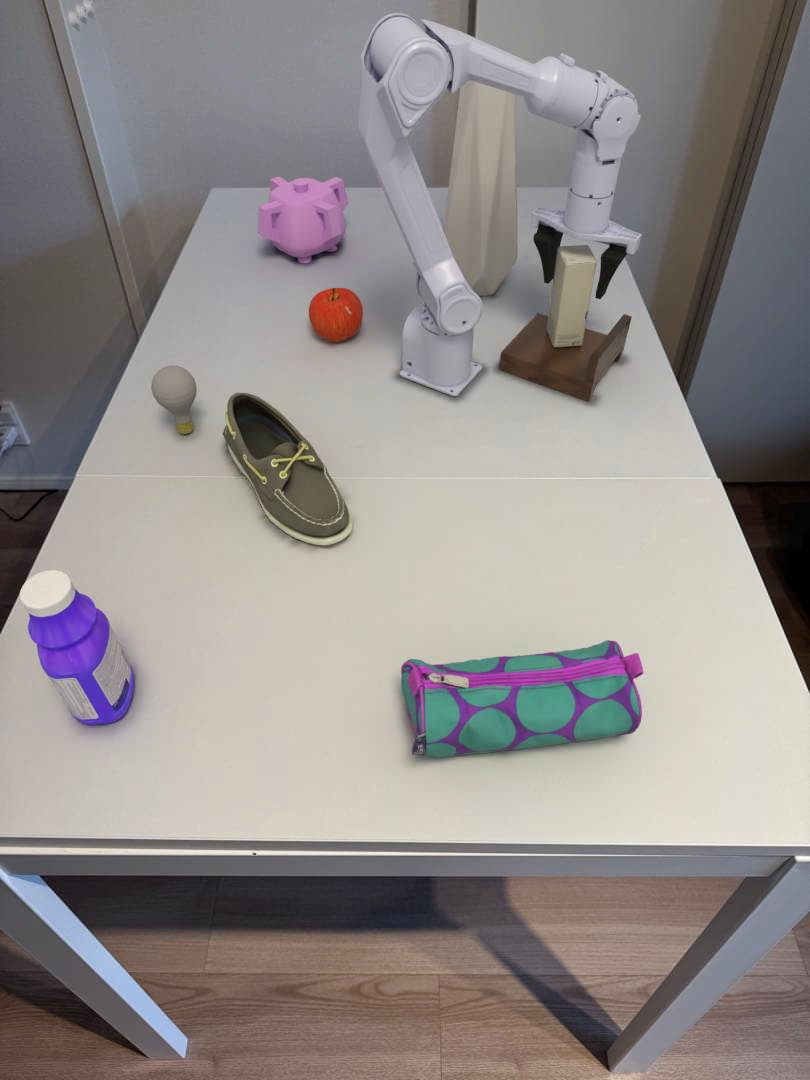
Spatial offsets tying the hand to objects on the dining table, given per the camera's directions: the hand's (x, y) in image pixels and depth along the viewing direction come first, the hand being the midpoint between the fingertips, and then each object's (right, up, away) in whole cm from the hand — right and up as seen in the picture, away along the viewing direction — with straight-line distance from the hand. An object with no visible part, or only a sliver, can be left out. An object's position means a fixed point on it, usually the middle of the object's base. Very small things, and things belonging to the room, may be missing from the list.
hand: (574, 287), depth 106 cm
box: (-1, -6, +5) cm, 8 cm away
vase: (-12, +7, +21) cm, 25 cm away
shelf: (-1, -9, +6) cm, 11 cm away
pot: (-41, +16, +29) cm, 52 cm away
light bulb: (-53, -21, -4) cm, 57 cm away
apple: (-34, -4, +11) cm, 36 cm away
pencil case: (-13, -53, -32) cm, 63 cm away
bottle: (-53, -51, -30) cm, 79 cm away
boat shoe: (-38, -28, -11) cm, 48 cm away
